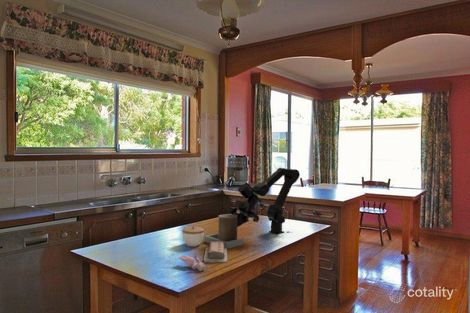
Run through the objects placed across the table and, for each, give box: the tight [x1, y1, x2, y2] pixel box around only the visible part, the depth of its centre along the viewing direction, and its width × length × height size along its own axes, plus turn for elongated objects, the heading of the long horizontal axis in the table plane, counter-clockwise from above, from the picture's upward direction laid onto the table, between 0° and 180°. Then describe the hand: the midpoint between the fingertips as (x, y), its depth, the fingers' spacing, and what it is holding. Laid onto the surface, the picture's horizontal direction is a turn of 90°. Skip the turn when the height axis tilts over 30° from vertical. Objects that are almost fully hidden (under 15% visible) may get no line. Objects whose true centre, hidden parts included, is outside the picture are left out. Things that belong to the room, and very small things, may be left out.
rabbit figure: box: [178, 254, 210, 272], centre depth 138 cm, size 6×6×15 cm
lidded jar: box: [181, 225, 205, 247], centre depth 170 cm, size 11×11×9 cm
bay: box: [203, 232, 245, 250], centre depth 173 cm, size 12×17×3 cm
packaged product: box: [203, 242, 228, 263], centre depth 153 cm, size 18×5×10 cm
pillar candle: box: [217, 213, 238, 242], centre depth 175 cm, size 10×10×15 cm
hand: (235, 227), depth 178 cm, fingers closed
